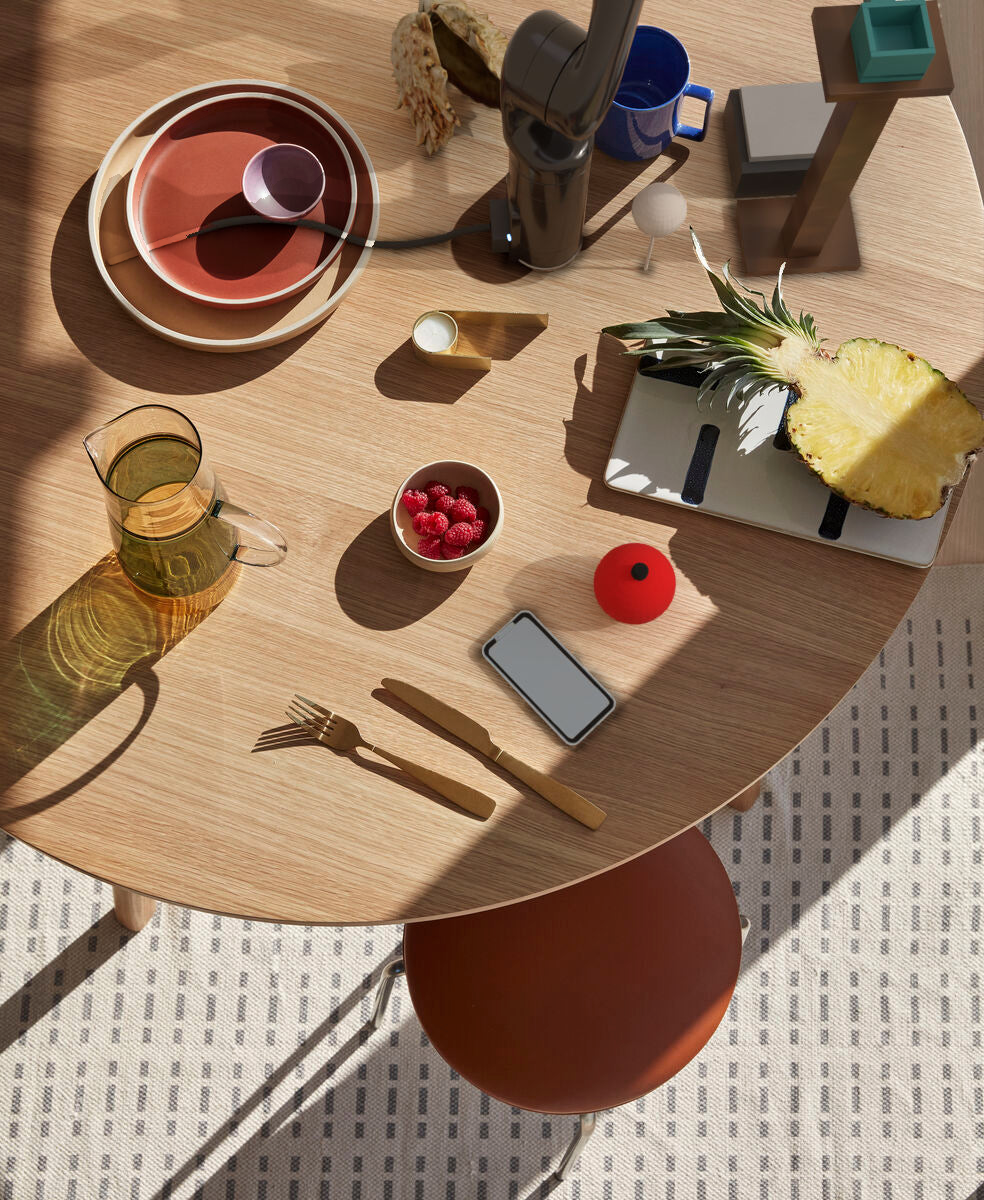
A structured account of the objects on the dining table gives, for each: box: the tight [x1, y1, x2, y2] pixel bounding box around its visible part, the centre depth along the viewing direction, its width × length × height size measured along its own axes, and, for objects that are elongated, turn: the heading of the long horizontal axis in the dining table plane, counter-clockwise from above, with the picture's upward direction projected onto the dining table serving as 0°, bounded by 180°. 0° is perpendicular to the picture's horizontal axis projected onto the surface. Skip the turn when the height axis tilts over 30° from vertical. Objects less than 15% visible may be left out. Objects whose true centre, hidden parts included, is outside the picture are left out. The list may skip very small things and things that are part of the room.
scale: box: [721, 81, 837, 199], centre depth 136 cm, size 14×12×6 cm
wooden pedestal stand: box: [734, 0, 956, 278], centre depth 121 cm, size 14×10×32 cm
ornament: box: [592, 542, 677, 626], centre depth 120 cm, size 9×9×10 cm
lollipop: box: [631, 182, 688, 271], centre depth 128 cm, size 6×6×15 cm
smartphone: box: [481, 609, 617, 747], centre depth 122 cm, size 7×1×15 cm
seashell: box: [389, 0, 509, 156], centre depth 133 cm, size 18×18×15 cm
